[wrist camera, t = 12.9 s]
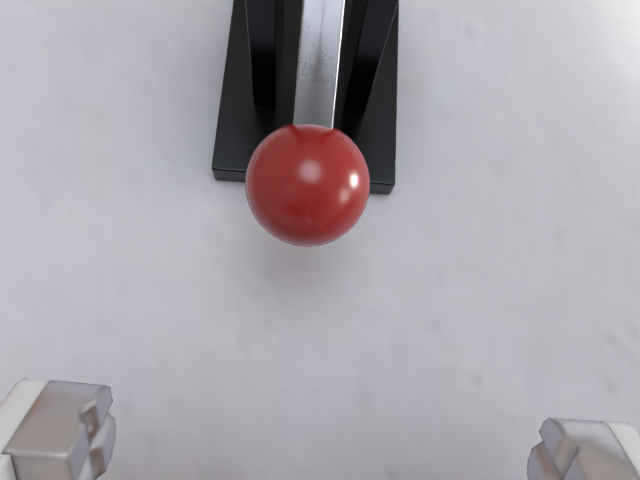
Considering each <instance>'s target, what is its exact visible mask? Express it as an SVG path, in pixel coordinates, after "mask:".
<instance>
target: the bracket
mask: <svg viewBox="0 0 640 480" xmlns="http://www.w3.org/2000/svg"><path fill="white" fill-rule="evenodd" d="M302 4H303V0H234V2H233V9H232V17H231V24H230V32H229V40H228V47H227V55H226V63H225V70H224V78H223V85H222V93H221V101H220V108H219V116H218V123H217V131H216V139H215V146H214V154H213V161H212V171H213V175H214V178H215V179H216V180H227V181H239V182H245V178H246V171H247V168H248V164H249V161H250V159H251V157H252V155H253V153H254V151H255V149H256V148H257V147H258V145H259V144H260V143H261V142H262V141H263V140H264V139H265V138H266V137H267V136H268V135H269V134H271V133H272V132H273V131H275V130H277V129H279V128H280V127H283V126H285V125H288V124H292V123H293V119H294V107H295V94H296V81H297V68H298V55H299V42H300V29H301V17H302ZM398 20H399V0H345V5H344V15H343V26H342V36H341V47H340V58H339V68H338V79H337V89H336V100H335V111H334V121H333V127H334V128H336V129H338V130H340V131H341V132H343V133H344V134H345V135H347V136H348V137H349V138H350V139H351V140H352V141H353V142H354V143H355V144H356V146H357V147H358V149H359V150H360V151H361V153H362V155H363V157H364V159H365V162H366V165H367V168H368V172H369V180H370V189H369V193H378V194H390V192H391V191H392V189H393V187H394V185H395V159H396V113H397V67H398Z"/></svg>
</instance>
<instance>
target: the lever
mask: <svg viewBox="0 0 640 480" xmlns="http://www.w3.org/2000/svg"><path fill="white" fill-rule="evenodd" d="M344 5H345V0H303V4H302V17H301V29H300V42H299V55H298V68H297V81H296V94H295V107H294V119H293V123H292V124H288V125H285V126H283V127H280V128H279V129H277V130H275V131H273V132H272V133H271V134H269V135H268V136H267V137H266V138H265V139H264V140H263V141H262V142H261V143H260V144H259V145H258V147H257V148H256V149H255V151H254V153H253V155H252V157H251V159H250V161H249V164H248V168H247V171H246V178H245V190H246V197H247V201H248V204H249V207H250V209H251V211H252V213H253V215H254V217H255V218H256V220H257V221H258V222H259V224H260V225H261V226H262V227H263V228H264V229H265V230H266V231H267V232H268V233H270V234H271V235H272V236H274V237H276V238H277V239H279V240H281V241H283V242H286V243H288V244H292V245H296V246H307V247H311V246H319V245H323V244H327V243H329V242H332V241H334V240H336V239H338V238H340V237H341V236H343V235H344V234H346V233H347V232H348V231H349V230H350V229H351V228H352V227H353V226H354V225H355V224H356V222H357V221H358V220H359V218H360V217H361V215H362V213H363V211H364V209H365V207H366V204H367V201H368V196H369V189H370V180H369V172H368V168H367V165H366V162H365V159H364V157H363V155H362V153H361V151H360V150H359V149H358V147H357V146H356V144H355V143H354V142H353V141H352V140H351V139H350V138H349V137H348V136H347V135H345V134H344V133H343V132H341V131H340V130H338V129H336V128H334V127H333V121H334V111H335V100H336V89H337V79H338V68H339V58H340V47H341V36H342V26H343V15H344Z"/></svg>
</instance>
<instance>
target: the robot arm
mask: <svg viewBox="0 0 640 480" xmlns="http://www.w3.org/2000/svg"><path fill="white" fill-rule="evenodd" d="M112 402H113V399H112V393H111V388H110V387H108V386H106V385H96V384H86V383H76V382H66V381H55V380H52V381H50V380H40V379H30V378H23V379H22V380H20V381H19V382H17V383H16V384H15V385H14V386H13V388H12V389H11V391H10V392H9V393H8V395H7V396H6V397H5V399H4V400H3V402H2V403H1V404H0V480H96V479H97V478H98V477H100V476H101V475H102V474H103V473H105V472H106V469H107V467H108V464H109V462H110V459H111V456H112V452H113V448H114V443H115V434H116V426H115V419H114V418H113V417H112V416H111V415H110V414H109V413H108V410H109V408H110V406H111V404H112ZM539 433H540V435H541V437H542V440H543V441H542V442H541V443H539V444H538V445H536V446H535V447H533V448H532V450H531V453H530V456H529V458H528V464H527V477H528V480H640V435H639V433H638V432H637V430H636V429H635V428H634V427H633V426H632V425H630V424H629V423H625V422H610V421H600V422H599V421H594V420H578V419H562V418H548V419H547V420H545V421H544V422H543V424H542V426H541V429H540V431H539Z"/></svg>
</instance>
